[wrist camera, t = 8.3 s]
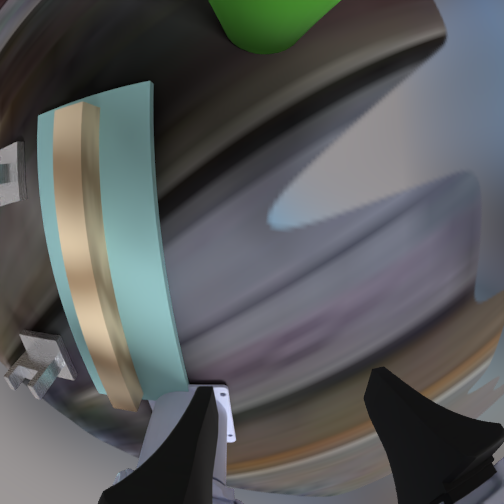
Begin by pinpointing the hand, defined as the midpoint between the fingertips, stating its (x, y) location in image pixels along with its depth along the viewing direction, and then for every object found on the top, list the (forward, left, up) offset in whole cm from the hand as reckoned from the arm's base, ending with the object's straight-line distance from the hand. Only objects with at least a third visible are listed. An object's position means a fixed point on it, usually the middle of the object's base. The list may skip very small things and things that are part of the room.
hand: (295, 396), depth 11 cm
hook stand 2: (-6, +23, -9) cm, 26 cm away
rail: (+3, +13, -9) cm, 16 cm away
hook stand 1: (+12, +23, -9) cm, 28 cm away
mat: (+3, +13, -9) cm, 16 cm away
